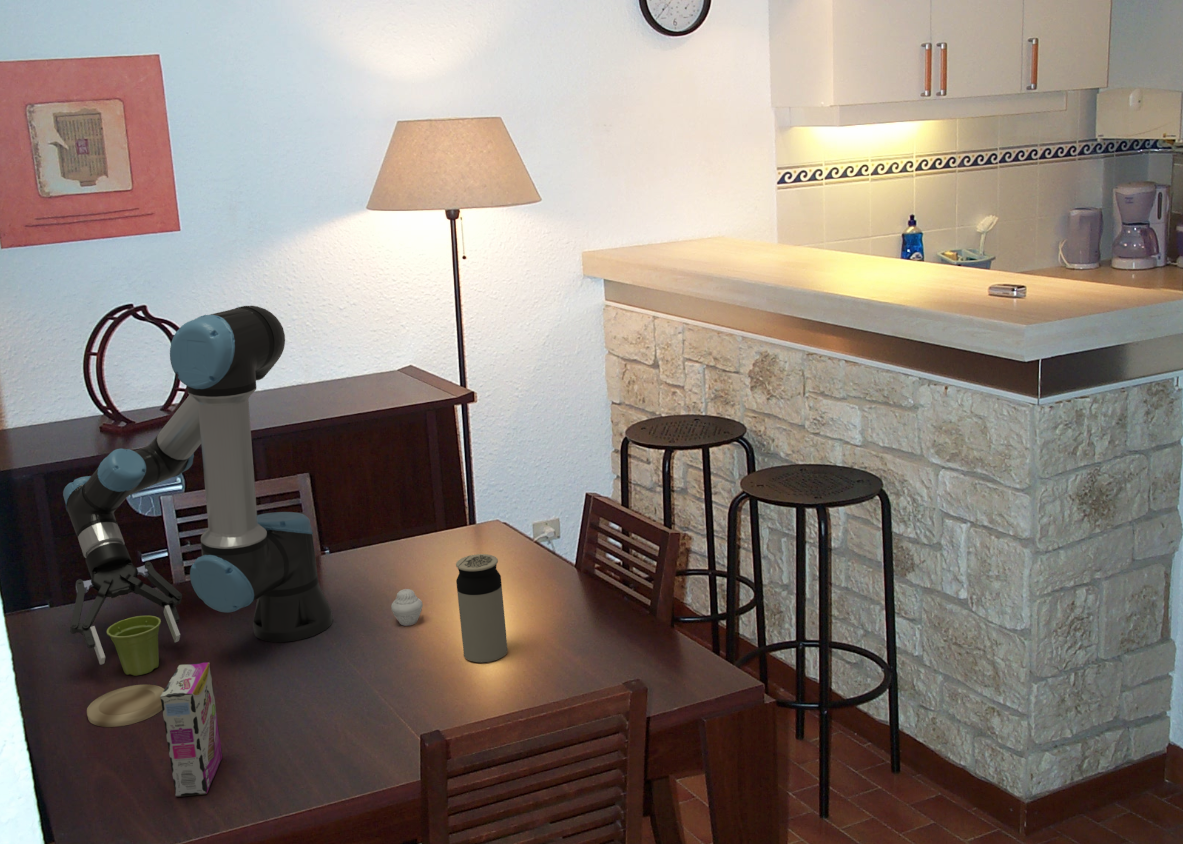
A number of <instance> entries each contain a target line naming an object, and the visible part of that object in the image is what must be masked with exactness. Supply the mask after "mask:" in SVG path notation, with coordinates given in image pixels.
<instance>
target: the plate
mask: <svg viewBox="0 0 1183 844" xmlns="http://www.w3.org/2000/svg"><path fill="white" fill-rule="evenodd" d="M164 690H165V688H164V687H162V686H159V685H154V684H136V685H135V684H133V685H129V686H125V687H120V688H117V689H114V690H111V691H108V692H106V693H105V694H104V693H103V694H102V695H100V696H98V697H97V698H96V699H94V700H93V701H92V702H90V704H89V705H88V706H87V708H86V715H87V719H88V721H89V723H90V724H92V725H94V726H98V727H102V728H117V727H124V726H129V725H134V724H136V723H140V722H142V721H145V720H148V719H150V718H152V717H154V716H155V715H157V714H159V713H160V712H162V704H161V698H160V696H161V694H162V693H163V691H164Z"/></svg>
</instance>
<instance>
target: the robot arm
mask: <svg viewBox="0 0 1183 844" xmlns="http://www.w3.org/2000/svg"><path fill="white" fill-rule="evenodd" d="M285 345H286V334H285V331H284V327H283V325H282V323H281V322H280V320H279V319H278V317H277V316H276V315H274V314H273V312H272V311H269V310H268V309H266V308H265V307H264V308H263V307H261V306H256V305H242V306H238V307H236V308H233V309H228V310H223V311H220V312H219V311H218V312H215V313H211V314H204V315H201V316H198V317H197V318H194V319H192V320H189V321H187V322H185V323H184V324H183V325H181V326H180V327H179V328H178V330H176V331H175V333H174V335H173V337H172V340H171V343H170V347H169V359H170V360H169V361H170V365H171V368H172V371H173V372H174V374H177V379H178V380H179V381H180V382H181V383H182V384H184V385H185V386H187V394H188V396H187V398H185V400H184V401H183V402H182V404H181V405H180V406H179V408H178V409H177V410H176V411H175V412H174V414H173V415H172V416H171V417H170V419H169V420H167V422H166V423H165V425H163V428H161V430H159V433H158V434H157V435H156V436H155V438H154V439H153V440H152V441H151V442H150V443H149V444H148V445H146V446H144V447H141V448H138V449H136V450H133V449H129V448H127V449H126V448H116V449H114V450H112V451H111V452H110V453H109V454H108V455H107V456H105V458H103V460H102V461H100V463H99V464H98V467H97V468H96V469H95V471H94V472H93V473H92V474H91V475H89V476H88V475H86V476H81V477H78V478H75V479H73V482H69V483H68V484H67V485H66V486H65V487H64V488H63V491H62V496H63V499H64V503H65V510H66V512H67V513H68V516H69V519H70V521H71V524H72V527H73V529H74V532H75V535H76V537H77V539H78V542H79V543H78V544H79V546H80V548H81V552H82V556H83V557H84V558H85V564H86V566H87V569H88V573H89V575H90V578H91V579H89V580H88V579H87V580H83V579H81V578H79V579H77V580H76V582H75V592H76V598H75V604H74V607H73V613H72V617H71V622H70V628H69V629H70V630H69V632H70V634H74V635H75V634H77V633H80V634H81V635H82V636H83V638H84V642H85V644H86V647H87V648H88V649H92V648H93V649H94V651H95V654H96V657H97V660H98V663H99V665H104V664H105V661H106V655H105V653H104V649H103V647H102V646H103V645H102V644H101V640H100V637H99V635H98V632H97V629H96V626H95V625H93V623H94V622H95V620H96V618H97V616H98V614H99V612H100V610H101V609H102V607H103V604H104V603H105V601H106V599H107V598H111V599H114V598H115V599H116V598H117V597H119V596H125V595H128V594H130V592H132V593H133V594H135V595H138V596H139V595H140V597H142V598H145V599H147V600H149V601H150V602H153V603H154V604H156V605H158V606H160V607H162V608H163V612H162V613H163V615H164V618H165V620H166V623H167V626H168V628H169V631H170V633H171V636H172V639H173V642H174V643H178V642H180V638H181V633H180V630H179V628H178V625H177V624H178V623H179V622H180V615H179V612H178V609H177V608H176V607H177V606H178V605H180V604H181V602H182V599H183V594H182V593H181V592H180V591H179V590H178V589H177V588H175V587H174V586H173V585H172V584H171V583H170V582H169V581H167V579H165V578H164V577H163V576H162V574H160V573H158V572H157V571H156V570H155V568H154V566H153V564H152V563H151V561H146V562H145V563H144V565H142V566H138V567H136V566H134V564H133V561H132V558H131V556H130V554H129V550H128V549H127V546H126V545H125V540H124V537H123V535H122V532H121V530H120V526H119V524H118V522H117V519H116V517H115V511H116V510H117V509H119V507H120V506H121V504H123V502H124V501H125V500H126V499H127V498H128V497H129V496H130V495H133V494H135V493H137V492H140V491H142V490H144V489H147V488H150V487H152V486H154V485H157V484H159V483H162V482H164V481H166V480H169V479H171V478H175V477H178V476H180V475H181V474H182V473H184V472H186V471H188V470H189V469H190V468H192V466H193V464H194V458H195V455H194V454H195V452H196V451H197V449H198V448H199V447H200V446H201V456H202V468H203V479H204V490H205V491H204V492H205V501H206V502H205V503H206V513H207V527H208V528H207V529H206V530H205V531H204V532H203V533H202V534H201V536H200V547H201V556H198V557H197V558H196V559H195V561H194V563H192V564H191V567H190V570H189V579H190V583H191V586H192V589H193V590H194V592H195V594H196V596H198V598H199V599H201V600H202V601H203V603H204V605H206V606H208V607H209V608H211V609H213V610H215V611H218V612H220V613H232V612H233V613H234V612H236V611H238V610H240V609H243V608H245V607H248V606H250V605H251V604H252V603H254V601H256V604H255V605H256V606H255V609H254V614H253V620H252V627H253V633H254V634H253V635H254V636H255V637H256V638H258V639H260V640H262V641H264V642H265V641H266V642H273V643H283V642H284V643H286V642H294V641H295V642H296V641H299V640H304V639H307V638H310V637H314V636H316V635H318V634H321V633H322V632H324V631H325V630H328V628H329V627H330V626H331V625H332V624H333V620H334V619H333V614H332V613H333V612H332V608H331V606H330V604H329V601H327V600H328V599H327V598H326V596H325V594H324V592H323V590H322V588H321V586H320V583H319V577H318V568H317V560H316V553H315V545H314V538H313V535H314V533H313V531H312V525H311V520H310V518H309V517H308V516H307V515H306V514H303V513H300V512H293V511H277V512H266V513H261V514H258V509H257V498H256V497H257V496H256V481H255V471H254V470H255V469H254V456H253V444H252V428H251V417H250V404H249V403H250V402H249V399H250V397H251V396H252V394H253V393H255V391H257V382H258V381H260V380H263V379H264V378H265V377H266V376H267V374H268V373H269V372H270V371H271V370H272V369H273V367H274V366H275V364H277V362H278V361H279V359H280V358H281V356H282V354H283V353H284V349H285ZM138 575H141V576H142V577H143V578H147V580H149V582H150V583H151V584H152V585H153V586H155V587H156V588H157V589H158V590H159V591H158V590H156V589H155V588H153V587H151V586H149V585H147V584H145V583H144V582H143V581H142V580H141V579H139V578H138ZM90 588H92V589H94V590H95V591H97V595H96V596H95V598H94V601H93V603H92V605H91V607H90V608H89V610H88V612H87V614H86V616H85V619H84V621H83V622H80V621H81V615H82V611H83V605H84V602H85V601H84V600H85V594H86V593H88V592H89V589H90Z"/></svg>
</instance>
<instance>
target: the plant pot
mask: <svg viewBox="0 0 1183 844" xmlns="http://www.w3.org/2000/svg"><path fill="white" fill-rule="evenodd" d="M161 620H162V619H161V618H160V617H157V616H155V615H137V616H132V617H128V618H126V619H122V620H119V621H116V622H114V623H113V624H112V625H110V626H108V628H107V629H106V635H107V636H108V637H110V640H111V641H112V643H113V645H114V647H115V650H116V653H117V655H118V659H119V661H120V665H121V667H122V670H123V673H124V674H125V675H127V676H128V675H131V676H135V677H136V676H143V675H145V674H149V673H151V672H153V670H154V669H157V668H158V667H159V666H160V665H159V664H160V662H159V661H160V660H159V659H160V658H159V631H160V626H161V623H162V621H161Z"/></svg>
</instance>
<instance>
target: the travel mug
mask: <svg viewBox="0 0 1183 844" xmlns="http://www.w3.org/2000/svg"><path fill="white" fill-rule="evenodd" d="M498 562H499V559H498V557H497V556H495V555H491V554H486V553H483V554H482V553H479V554H478V553H477V554H471V555H466V556H464V557H461V558H460V559H458V560H457V561H456V563H455V567H456V568H457V569H458V573H459V574H458V576H457V578H456V580H455V581H456V590H457V591H456V592H457V601H458V609H459V610H458V611H459V612H458V613H459V620H460V630H461V640H462V649H463V650H462V651H463V657H464V658H465V659H466V660H468V661H469V662H470V661H471V662H474V663H491V662H496V661H497V660H500V659H501V658H503V657H504V656H506V654H508V651H509V649H508V639H507V638H508V637H507V629H506V618H505V606H504V595H503V586H502V576H501V574H500V572H499V571H498V569H497V564H498Z"/></svg>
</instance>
